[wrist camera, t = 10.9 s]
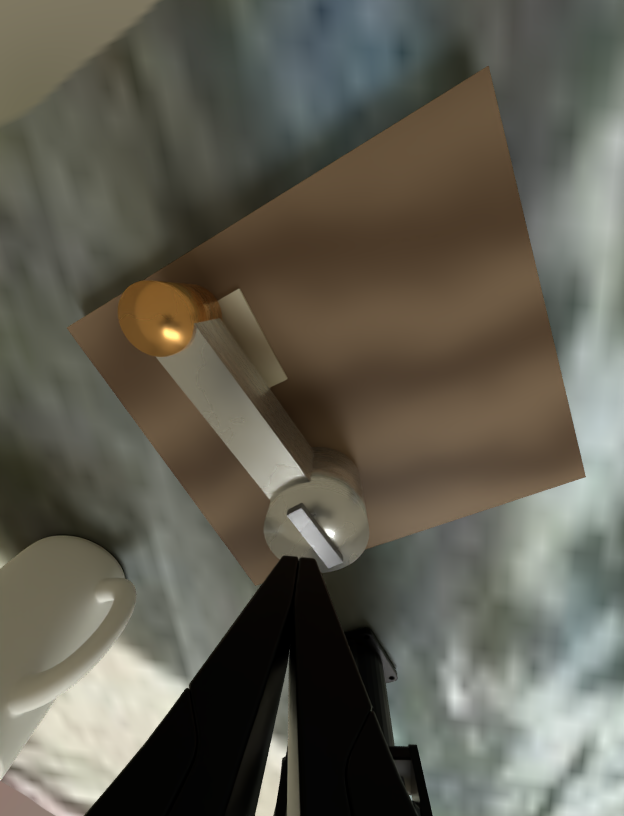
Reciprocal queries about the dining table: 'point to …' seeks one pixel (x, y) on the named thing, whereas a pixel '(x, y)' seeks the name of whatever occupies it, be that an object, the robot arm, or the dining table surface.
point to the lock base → (375, 333)
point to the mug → (54, 628)
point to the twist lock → (251, 423)
